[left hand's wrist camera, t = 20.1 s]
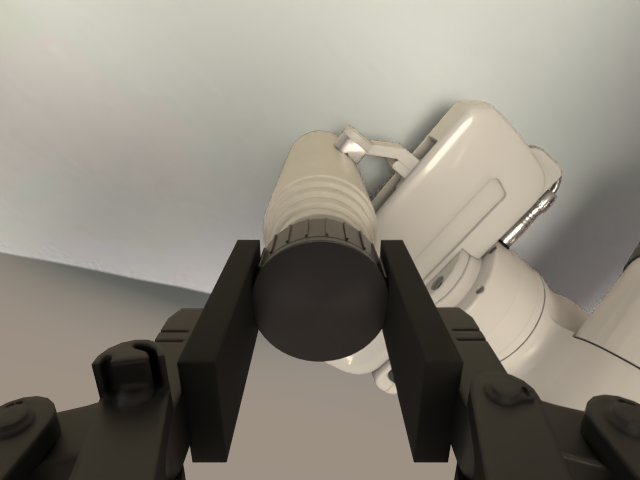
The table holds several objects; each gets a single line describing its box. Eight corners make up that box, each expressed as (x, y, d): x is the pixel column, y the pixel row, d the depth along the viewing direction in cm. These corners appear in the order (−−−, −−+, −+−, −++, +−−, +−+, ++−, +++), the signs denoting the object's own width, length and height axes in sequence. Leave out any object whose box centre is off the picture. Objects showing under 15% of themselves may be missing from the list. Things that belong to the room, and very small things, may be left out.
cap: (274, 337, 16) (268, 372, 14) (243, 229, 14) (232, 252, 12) (389, 318, 15) (399, 352, 13) (372, 205, 14) (381, 226, 12)
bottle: (356, 191, 34) (406, 351, 14) (293, 200, 34) (256, 368, 14) (348, 126, 32) (395, 207, 12) (282, 135, 32) (223, 229, 12)
